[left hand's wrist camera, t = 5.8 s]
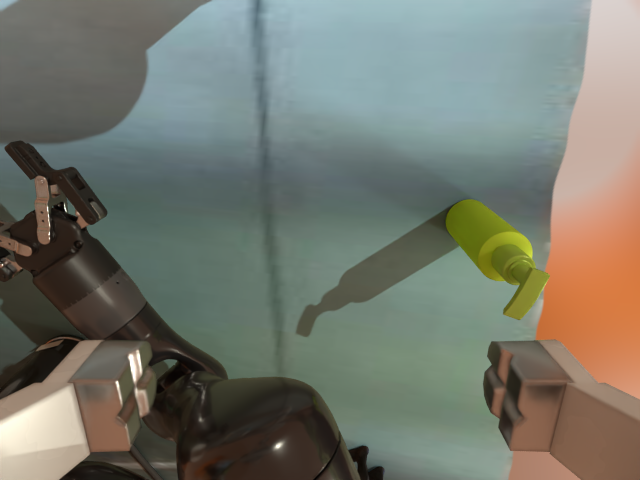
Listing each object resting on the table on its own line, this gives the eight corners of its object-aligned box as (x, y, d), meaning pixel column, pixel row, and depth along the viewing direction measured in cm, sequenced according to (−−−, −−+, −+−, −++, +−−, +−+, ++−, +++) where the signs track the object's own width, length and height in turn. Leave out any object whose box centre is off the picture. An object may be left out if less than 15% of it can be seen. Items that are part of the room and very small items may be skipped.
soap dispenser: (434, 238, 60) (486, 310, 42) (457, 193, 58) (523, 248, 39) (472, 252, 61) (539, 329, 42) (496, 208, 59) (579, 269, 40)
